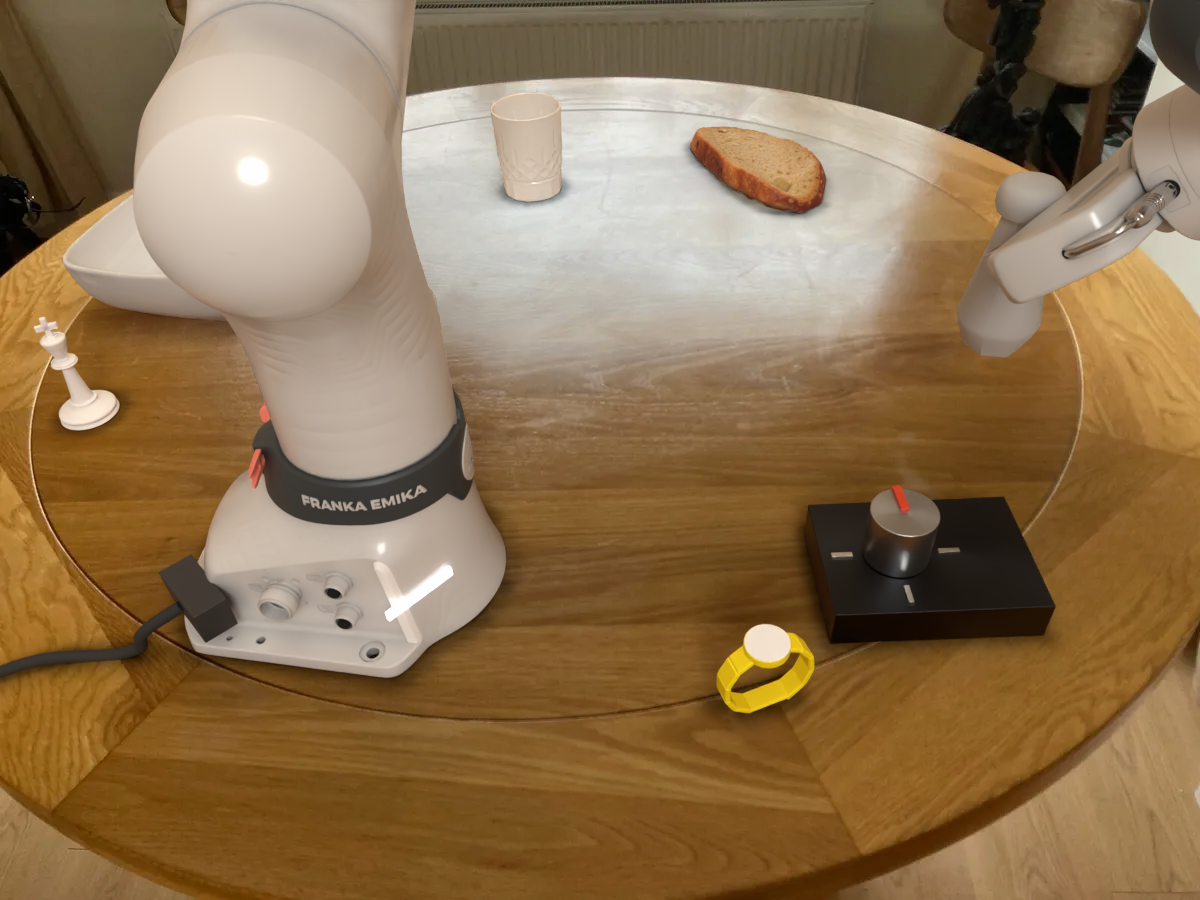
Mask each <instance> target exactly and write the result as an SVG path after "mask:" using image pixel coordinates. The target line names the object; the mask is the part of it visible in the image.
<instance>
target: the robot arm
mask: <svg viewBox="0 0 1200 900" xmlns="http://www.w3.org/2000/svg"><path fill="white" fill-rule="evenodd" d="M416 6H417V0H186V14H185V22H184V28H183V32H182V37H181V41H180V44H179V48H178V52H177V53H176V56H175V58H174V60H173V62H172V63H171V64H170V66H169V68H168V69H167V72H166V73H165V74H164V76H163V78H162V80H161V82H159V84H158V86H157V87H156V90H154V93H153V94H152V96H151V98H150V99H149V100H148V102H147V105H146V107H145V108H144V111H143V114H142V116H141V119H140V123H139V127H138V132H137V139H136V145H135V154H134V155H135V156H134V162H133V163H134V165H133V186H132V187H133V189H132V194H133V209H134V216H135V221H136V225H137V228H138V231H139V234H140V237H141V239H142V241H143V243H144V246H145V248H146V249H147V251H148V253H149V254H150V256H151V258H152V259H153V260H154V262H155V263H156V264H157V266H158V267H159V268H160V269H161V270H162V272H163V273H164V274H165V275H166V276H167V277H168V278H169V279H170V280H171V281H172V282H173V283H174V284H176V285H177V286H178V287H179V288H180V289H182V290H183V291H184V292H186V293H187V294H188V295H190V296H191V297H193V298H195V299H196V300H198V301H200V302H201V303H203V304H205V305H207V306H209V307H211V308H214V309H216V310H218V311H221V313H222V314H223V316H224V317H225V319H226V320H227V321H226V322H227V324H228V325H229V326H230V327H231V330H233V332H234V334H235V336H236V338H237V339H238V341H239V343H240V344H241V347H242V349H243V351H244V352H245V354H246V357H247V359H248V362H249V364H250V366H251V369H252V372H253V375H254V378H255V380H256V383H257V386H258V388H259V391H260V394H261V396H262V399H263V404H262V406H261V407H260V409H259V411H258V416H259V418H260V420H261V421H262V422H263V423H264V424H262V425H261V426H260V427H259V428H258V429H257V430H256V433H255V436H254V437H253V441H252V445H251V446H252V449H253V454H252V455H253V456H252V457H251V460H250V463H249V466H248V469H246V470H245V471H243V472H242V473H240V475H239V476H237V477H236V479H234V480H233V482H232V483H231V485H229V487H228V488H227V490H226V492H225V494H224V495H223V496H222V498H221V500H220V502H219V503H218V506H217V508H216V510H215V512H214V515H213V517H212V519H211V522H210V525H209V528H208V531H207V536H206V540H205V544H204V545H205V546H204V548H203V549H202V551H201V554H200V556H199V558H198V560H196V558H195V557H194V556H193V554H189V555H187V556H185V557H183V558H182V559H180V560H178V561H176V562H174V563H172V564H171V565H169V566H167V567H165V568H163V569H162V570H160V571H158V574H159V576H160V578H161V580H162V582H163V584H164V585H165V586H164V587H166V589H167V591H168V593H169V595H170V597H171V598H172V600H173V603H172V604H171V605H169V606H167V607H166V608H164V609H162V610H161V611H160V612H158V613H157V614H155V615H153V616H152V617H150V618H149V619H147V620H146V621H145V622H144V623H142V625H140V626H139V627H138V629H137V630H136V631H135V633H134V635H133V643H131V644H129V645H126V646H123V647H116V648H107V649H106V648H105V649H71V650H57V651H47V652H42V653H37V654H33V655H28V656H24V657H21V658H18V659H15V660H11V661H10V662H7V663H4V664H1V665H0V680H1V679H4V678H5V677H8V676H12V675H14V674H16V673H20V672H22V671H27V670H30V669H34V668H37V667H42V666H48V665H58V664H72V663H76V664H77V663H89V662H91V663H93V662H104V661H105V662H106V661H122V660H125V659H129V658H133V657H136V656H138V655H141V654H143V653H144V652H145V651H147V649H148V647H149V640H148V639H149V637H150V636H151V635H153V633H154V632H156V631H157V630H158V629H160V628H161V627H163V626H164V625H166V624H167V623H170V621H172V620H174V619H175V618H177V617H178V616H180V615H181V614H184V625H185V631H186V633H187V636H188V639H189V642H190V645H191V647H192V649H193V651H195V652H196V653H199V654H203V655H208V656H216V657H223V658H231V659H239V660H246V661H254V662H261V663H267V664H268V663H269V664H277V665H284V666H291V667H299V668H307V669H314V670H322V671H329V672H338V673H344V674H353V675H358V676H359V675H361V676H367V677H368V676H369V677H375V678H383V679H391V678H396V677H398V676H400V675H402V674H403V673H405V672H406V671H407V670H408V669H410V668H411V667H412V666H413V665H414V664H415V662H417V660H419V658H420V657H421V656H422V655H423V654H424V653H425V652H426V651H427V649H428V648H430V647H431V646H432V645H433V644H435V643H437V642H439V640H442V639H444V638H446V637H448V636H450V635H451V634H453V633H454V632H455V633H456V631H458V630H460V629H461V628H463V627H464V626H466V625H467V624H469V623H470V622H471V621H473V620H474V619H475V618H476V617H477V616H478V615H479V614H481V613H482V612H483V611H484V609H485V608H486V607H487V606H488V605H489V604H490V602H491V601H492V600H493V598H494V597H495V595H496V594H497V592H498V590H499V588H500V586H501V584H502V581H503V579H504V576H505V572H506V566H507V551H506V544H505V542H504V540H503V537H502V535H501V533H500V531H499V529H498V528H497V527H496V525H495V524H494V522H493V520H492V519H491V517H490V516H489V514H488V512H487V510H486V508H485V506H484V503H483V501H482V499H481V496H480V493H479V491H478V488H477V485H476V483H475V480H474V476H475V457H474V450H473V443H472V439H471V438H472V437H471V432H470V426H469V423H467V421H466V416H465V412H464V408H463V404H462V400H461V398H460V396H459V394H458V393H457V391H456V390H455V389H454V388H453V384H452V379H451V372H450V367H449V361H448V357H447V351H446V346H445V340H444V335H443V330H442V323H441V319H440V314H439V308H438V307H439V306H438V302H437V299H436V295H435V293H434V292H433V290H432V288H431V287H430V286H429V283H428V280H427V278H426V275H425V271H424V268H423V266H422V262H421V259H420V255H419V252H418V248H417V245H416V242H415V241H416V240H415V238H414V235H413V230H412V228H411V223H410V218H409V217H410V216H409V214H408V213H409V212H408V209H407V204H406V197H405V189H404V179H403V134H404V133H403V132H404V121H405V111H406V100H407V90H408V80H409V70H410V63H411V51H412V43H413V34H414V25H415V16H416ZM1148 17H1149V18H1148V20H1149V21H1148V26H1149V27H1148V29H1149V36H1150V41H1151V44H1152V47H1153V50H1154V52H1155V54H1156V56H1157V58H1158V59H1159V61H1160V62H1161V63H1162V64H1163V66H1164V67H1165V68H1166V69H1167V70H1168V71H1169V72H1170V73H1171V74H1172V75H1173V76H1174V77H1176V78H1177V79H1178V80H1179V81H1181V83H1183V85H1181V86H1179V87H1177V88H1175V89H1173V90H1171V91H1170V92H1168V93H1165V94H1164V95H1162V96H1160V97H1158V98H1157V99H1154V100H1152V101H1151V102H1149V103H1147V104H1145V105H1144V106H1143V107H1142V108H1141V109H1140V110H1139V111H1138V113H1137V115H1136V116H1135V120H1134V122H1133V126H1132V133H1131V136H1129V137H1128V138H1127V139H1125V141H1124V142H1123V143H1122V145H1121V146H1120V147H1119V148H1118V149H1117V150H1115V151H1114V152H1113V153H1112V154H1110V156H1108V157H1107V158H1106V159H1105V160H1103V161H1102V162H1101V163H1100V164H1099V165H1097V166H1096V167H1095V168H1094V169H1092V171H1090V172H1089V173H1088V174H1087V175H1086V176H1084V177H1082V178H1081V179H1080V180H1079V181H1078V182H1077V183H1076V184H1074V185H1073V186H1071V188H1070V189H1068V190H1066V193H1065V194H1064V195H1063V196H1062V197H1060V198H1059V199H1058V200H1057V201H1055V202H1054V203H1053V204H1052V205H1050V206H1049V207H1048V208H1047V209H1045V210H1044V211H1043V212H1042V213H1040V214H1039V215H1038V216H1037V217H1036V218H1034V219H1033V220H1032V221H1031V222H1029V223H1028V224H1027V225H1026V226H1025V227H1023V228H1022V229H1021V230H1020V231H1018V232H1017V233H1016V234H1015V235H1014V236H1012V237H1011V238H1010V239H1009V240H1007V241H1006V242H1005V243H1004V244H1003V245H1000V246H998V247H996V248H994V249H993V250H992V251H990V252H989V253H988V254H986V255H985V256H984V258H983V263H984V265H985V267H986V268H987V270H988V272H989V274H990V275H991V276H992V277H994V278H995V279H996V281H997V282H998V284H999V286H1000V287H1001V289H1002V290H1003V292H1004V294H1005V295H1006V297H1007V298H1008V299H1009V301H1010V302H1012V303H1015V304H1023V303H1028V302H1030V301H1033V300H1035V299H1038V298H1040V297H1042V296H1046V295H1049V294H1052V293H1053V292H1056V291H1059V290H1060V289H1062V288H1064V287H1067V286H1069V285H1071V284H1073V283H1076V282H1078V281H1080V280H1082V279H1085V278H1086V277H1089V276H1091V275H1093V274H1094V273H1097V272H1099V271H1101V270H1103V269H1105V268H1107V267H1109V266H1111V265H1113V264H1114V263H1116V262H1119V260H1121V259H1123V258H1125V257H1126V256H1127V255H1129V254H1130V253H1132V252H1133V251H1134V250H1136V249H1137V248H1138V247H1139V246H1140V245H1141V244H1142V243H1143V242H1144V241H1145V240H1146V239H1147V238H1148V237H1149V236H1150V235H1151V234H1152V233H1153V232H1154V231H1157V232H1161V233H1165V234H1169V233H1174V232H1177V233H1178V234H1180V235H1182V236H1183V237H1186V238H1188V239H1190V240H1193V241H1198V242H1200V0H1149V12H1148ZM374 655H375V656H376V657H374V658H372V656H374Z"/></svg>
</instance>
